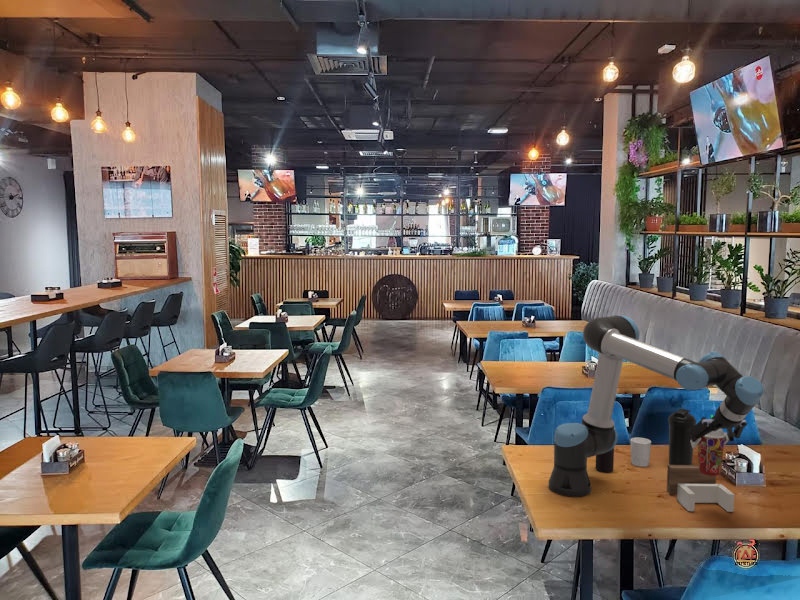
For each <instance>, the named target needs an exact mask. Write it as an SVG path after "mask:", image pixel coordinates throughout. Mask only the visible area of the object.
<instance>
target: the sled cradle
mask: <svg viewBox="0 0 800 600" xmlns="http://www.w3.org/2000/svg"><path fill="white" fill-rule="evenodd" d="M676 501H677V502H679V504H680V505H681V506H683V507H684V508H685V510H686V511H688V512H695V506H696V505H695V504H696V503H697V504H698V503H699V504H701V503H703V504H718V505H719V506H720V507H722V509H724V510H725V511H726V512H728V513H730V512H731V513H733V512H734V509H735V508H734V507H735V493H734V492H732V491H731V490H729V489H728V488H727V487H725V485H723V484H722V483H716V484H678V490H677V495H676Z"/></svg>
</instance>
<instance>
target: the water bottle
mask: <svg viewBox="0 0 800 600" xmlns="http://www.w3.org/2000/svg"><path fill="white" fill-rule="evenodd" d="M689 412H690V413H689ZM691 412H692V410H690V409H685V408H678V409H677V411H674V412H672V413H671V414H670V415H669V416H668V418H667V419H668V420H667V422H668V424H669V425H668V428H669V430H668V465H693V456H694V448H692V445H691V442H690V441H691V435H690V432H689V430H691V429H692V428H693V427H694V426H695V425H696V424H697V419H696V417H694V415H693V414H691Z"/></svg>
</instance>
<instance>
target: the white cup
mask: <svg viewBox="0 0 800 600" xmlns="http://www.w3.org/2000/svg"><path fill="white" fill-rule="evenodd" d="M651 449H652V441H651V440H650V439H649V438H645V437H632V438H630V461H631V462H630V463H631V464H632V465H633V466H635V467H639V468H647V467H649V465H650V459H651Z"/></svg>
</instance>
